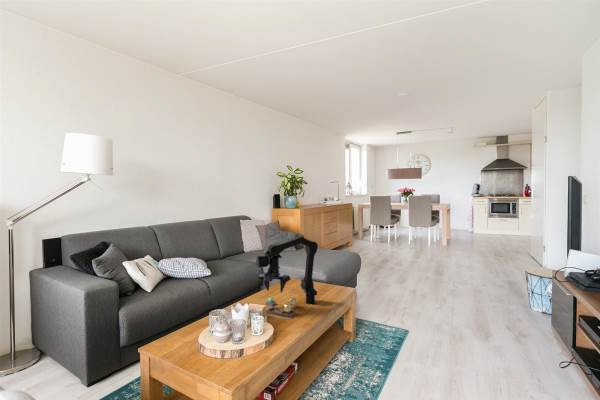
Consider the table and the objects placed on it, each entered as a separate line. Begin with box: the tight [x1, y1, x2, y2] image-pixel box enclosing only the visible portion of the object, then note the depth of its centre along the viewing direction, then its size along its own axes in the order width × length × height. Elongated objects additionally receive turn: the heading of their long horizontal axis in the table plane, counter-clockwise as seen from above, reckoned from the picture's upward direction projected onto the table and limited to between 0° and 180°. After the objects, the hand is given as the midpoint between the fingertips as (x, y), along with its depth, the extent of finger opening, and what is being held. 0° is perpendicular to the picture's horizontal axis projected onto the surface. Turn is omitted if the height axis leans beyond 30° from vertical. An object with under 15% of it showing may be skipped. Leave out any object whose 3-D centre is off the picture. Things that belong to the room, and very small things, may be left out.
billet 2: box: [288, 297, 297, 310], centre depth 187 cm, size 4×4×6 cm
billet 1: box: [283, 302, 292, 315], centre depth 176 cm, size 4×4×6 cm
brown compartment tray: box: [265, 306, 299, 320], centre depth 178 cm, size 11×17×3 cm, turn 63°
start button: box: [267, 297, 274, 303], centre depth 192 cm, size 3×3×3 cm
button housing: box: [265, 300, 277, 307], centre depth 192 cm, size 4×4×3 cm
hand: (274, 291), depth 186 cm, fingers open, 9 cm apart
